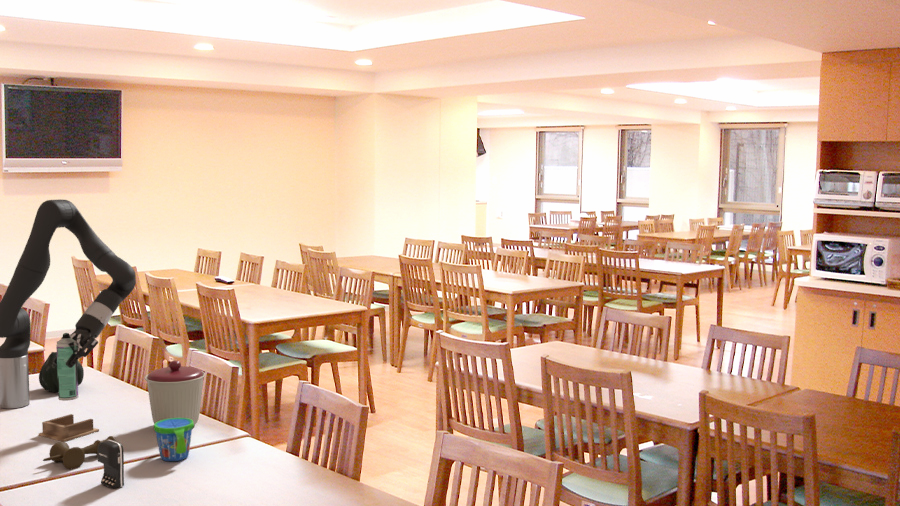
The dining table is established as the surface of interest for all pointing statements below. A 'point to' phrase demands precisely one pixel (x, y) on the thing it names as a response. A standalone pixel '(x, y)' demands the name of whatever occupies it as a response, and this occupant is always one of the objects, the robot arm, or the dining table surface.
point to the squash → (55, 374)
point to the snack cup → (174, 438)
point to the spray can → (66, 369)
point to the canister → (175, 392)
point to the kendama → (72, 453)
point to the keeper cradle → (67, 428)
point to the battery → (111, 463)
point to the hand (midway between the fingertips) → (61, 364)
